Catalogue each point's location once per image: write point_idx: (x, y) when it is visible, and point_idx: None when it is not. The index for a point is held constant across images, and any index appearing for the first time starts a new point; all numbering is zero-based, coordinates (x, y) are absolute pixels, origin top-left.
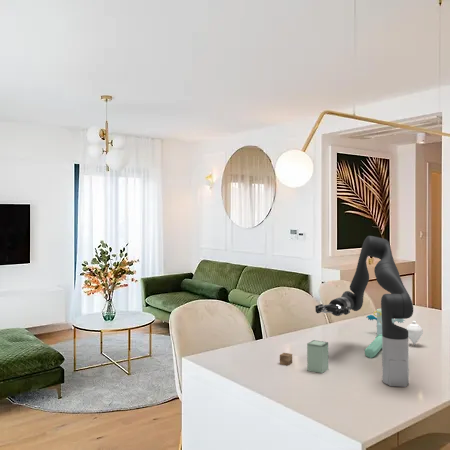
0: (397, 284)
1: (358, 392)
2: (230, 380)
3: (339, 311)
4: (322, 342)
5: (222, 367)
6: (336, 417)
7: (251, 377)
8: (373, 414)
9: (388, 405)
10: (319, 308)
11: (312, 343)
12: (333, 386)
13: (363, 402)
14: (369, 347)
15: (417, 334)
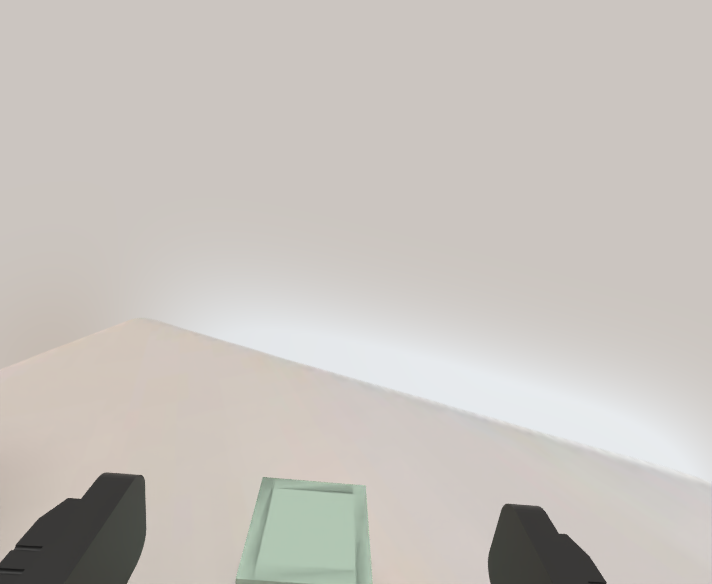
0: None
1: (87, 457)
2: (486, 416)
3: (41, 522)
4: (280, 550)
5: (622, 487)
6: (177, 349)
7: (467, 448)
8: (85, 369)
9: (10, 409)
10: (542, 580)
11: (337, 498)
12: (184, 473)
13: (92, 406)
14: None
15: None
